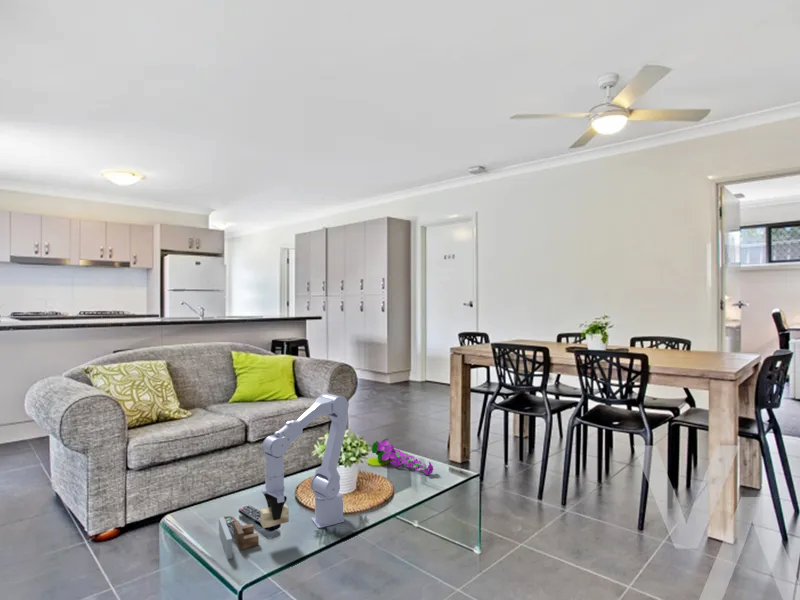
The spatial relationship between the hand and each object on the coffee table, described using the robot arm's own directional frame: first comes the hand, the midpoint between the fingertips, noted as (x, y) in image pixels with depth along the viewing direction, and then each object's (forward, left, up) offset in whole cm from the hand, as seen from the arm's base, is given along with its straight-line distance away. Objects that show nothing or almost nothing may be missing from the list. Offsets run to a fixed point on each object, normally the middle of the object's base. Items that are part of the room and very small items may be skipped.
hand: (275, 516), depth 151 cm
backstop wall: (+14, -5, -8) cm, 17 cm away
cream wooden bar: (0, 0, -2) cm, 2 cm away
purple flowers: (-69, -38, -9) cm, 79 cm away
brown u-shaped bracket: (+8, -5, -8) cm, 13 cm away
